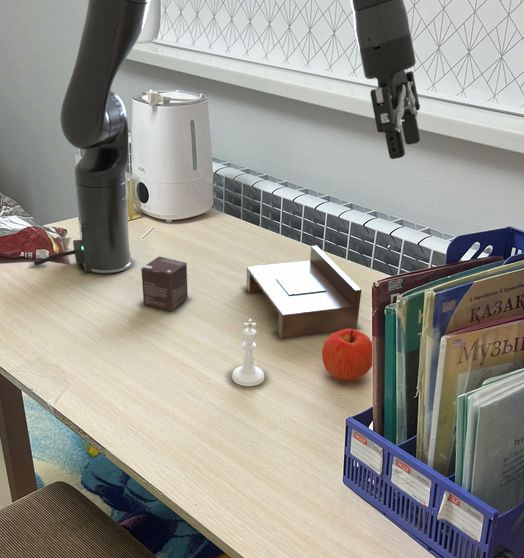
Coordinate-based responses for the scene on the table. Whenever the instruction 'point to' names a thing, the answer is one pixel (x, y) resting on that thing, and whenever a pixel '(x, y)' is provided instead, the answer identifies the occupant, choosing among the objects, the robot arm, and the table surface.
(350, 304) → the shelf
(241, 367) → the chess piece
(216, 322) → the table surface
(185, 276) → the box
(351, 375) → the apple
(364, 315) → the table surface
